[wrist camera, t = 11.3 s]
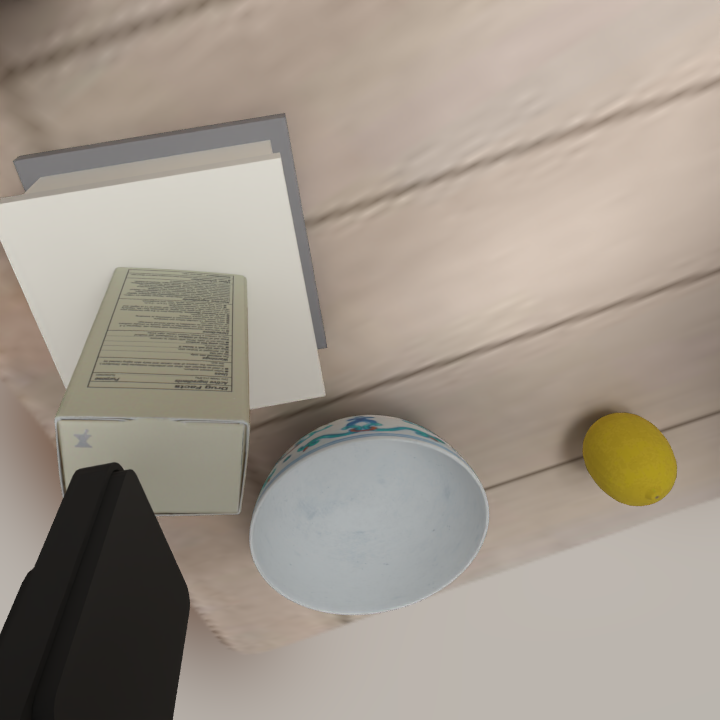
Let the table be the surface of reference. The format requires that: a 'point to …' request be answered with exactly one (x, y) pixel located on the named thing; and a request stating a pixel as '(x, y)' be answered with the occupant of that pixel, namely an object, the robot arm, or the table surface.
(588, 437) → the lemon
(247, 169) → the display podium
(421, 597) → the chinaware
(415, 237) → the table surface
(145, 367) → the skincare box
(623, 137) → the table surface
